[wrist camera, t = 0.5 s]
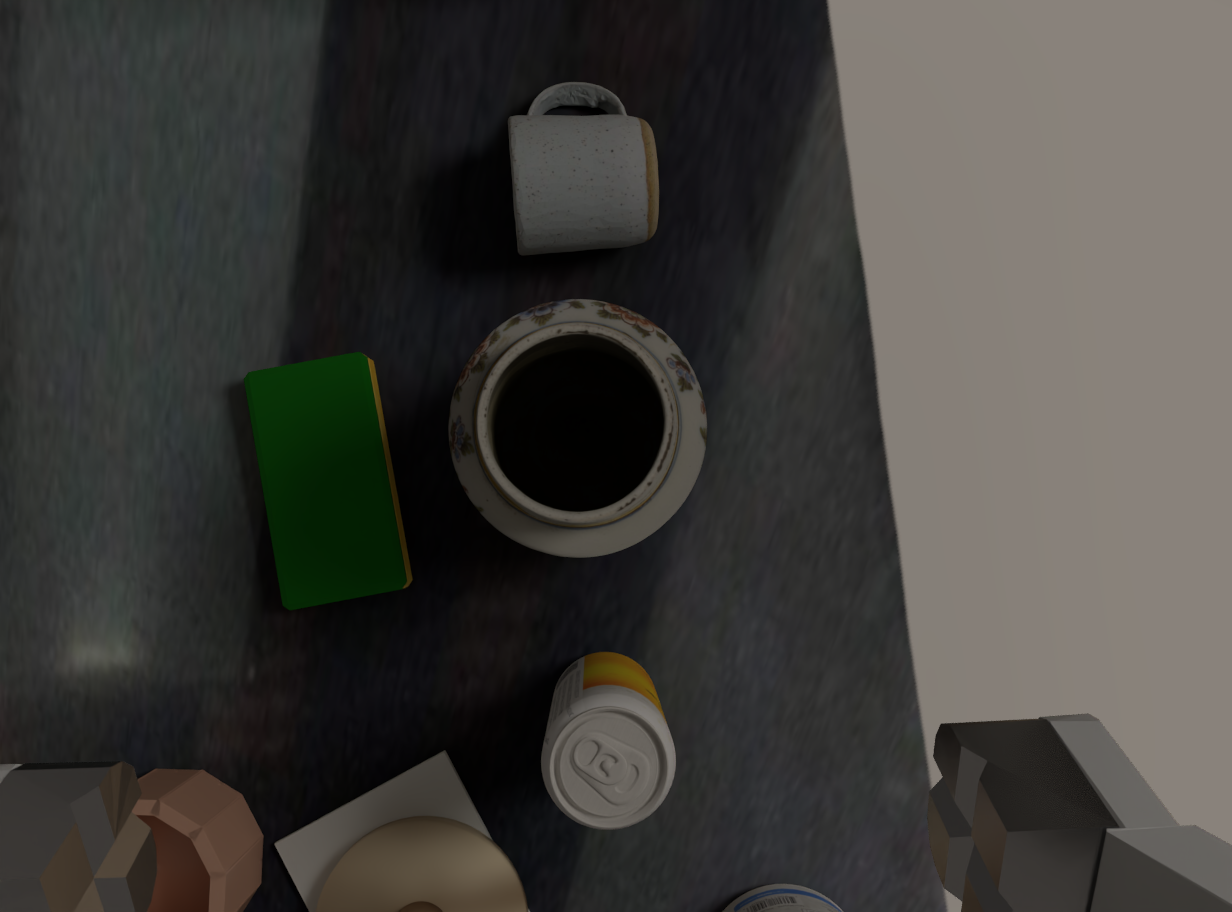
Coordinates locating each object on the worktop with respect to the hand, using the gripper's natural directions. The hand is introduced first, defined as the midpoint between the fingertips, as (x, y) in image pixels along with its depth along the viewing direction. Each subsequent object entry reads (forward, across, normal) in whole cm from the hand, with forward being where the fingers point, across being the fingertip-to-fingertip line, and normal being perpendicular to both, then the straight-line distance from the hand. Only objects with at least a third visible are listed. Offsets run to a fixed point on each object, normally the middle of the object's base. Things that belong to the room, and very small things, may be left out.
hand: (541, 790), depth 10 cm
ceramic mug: (+55, 0, -1) cm, 55 cm away
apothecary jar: (+48, 0, -16) cm, 50 cm away
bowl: (+38, -25, -36) cm, 58 cm away
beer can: (+41, 0, -29) cm, 51 cm away
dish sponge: (+48, -15, -17) cm, 53 cm away
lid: (+36, -10, -40) cm, 54 cm away
